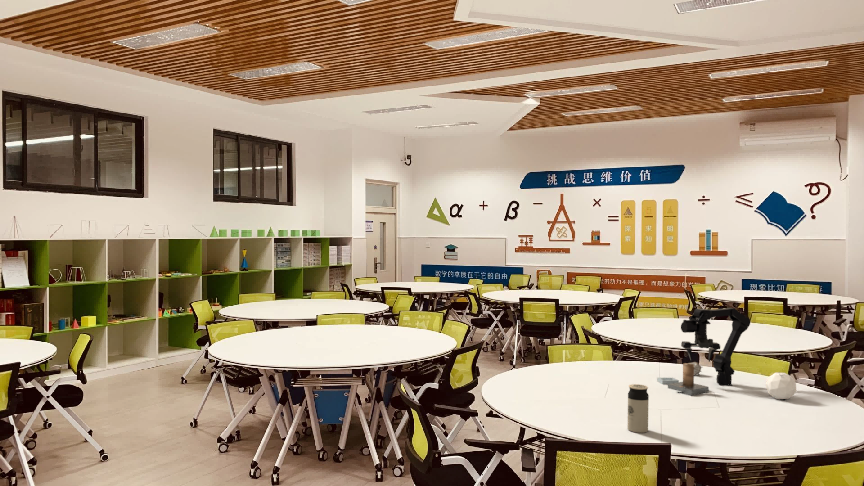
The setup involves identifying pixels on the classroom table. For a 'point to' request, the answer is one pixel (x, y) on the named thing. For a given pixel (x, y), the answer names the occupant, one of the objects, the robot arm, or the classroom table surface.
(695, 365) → the spiky grey ball
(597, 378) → the classroom table surface
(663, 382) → the rest block
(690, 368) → the knob
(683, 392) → the hub plate
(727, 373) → the robot arm
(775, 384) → the geodesic sphere
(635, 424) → the travel mug
